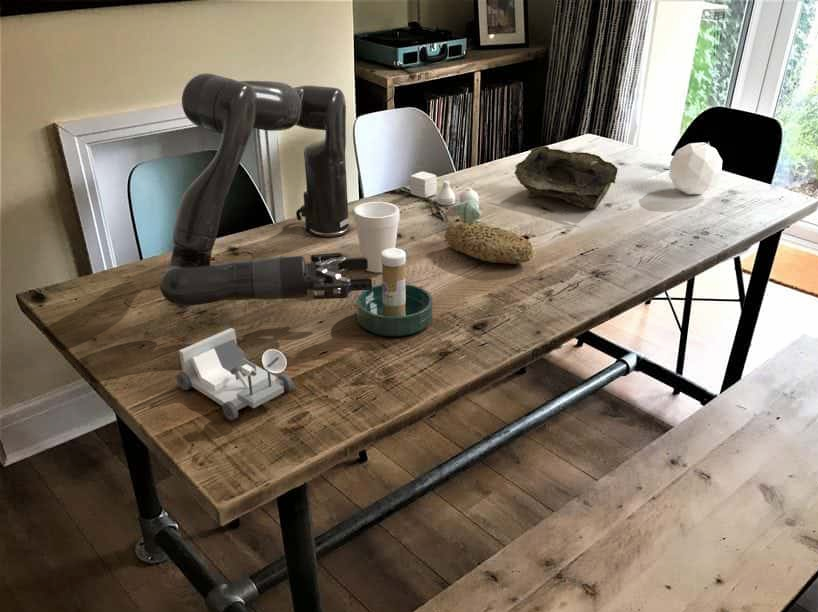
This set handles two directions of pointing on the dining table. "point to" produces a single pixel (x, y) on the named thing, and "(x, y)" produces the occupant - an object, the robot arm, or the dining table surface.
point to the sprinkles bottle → (393, 282)
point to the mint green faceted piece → (468, 211)
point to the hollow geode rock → (566, 175)
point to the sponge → (489, 243)
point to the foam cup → (376, 230)
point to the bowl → (414, 321)
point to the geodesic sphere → (695, 168)
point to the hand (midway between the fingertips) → (369, 273)
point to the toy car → (232, 373)
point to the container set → (427, 186)
